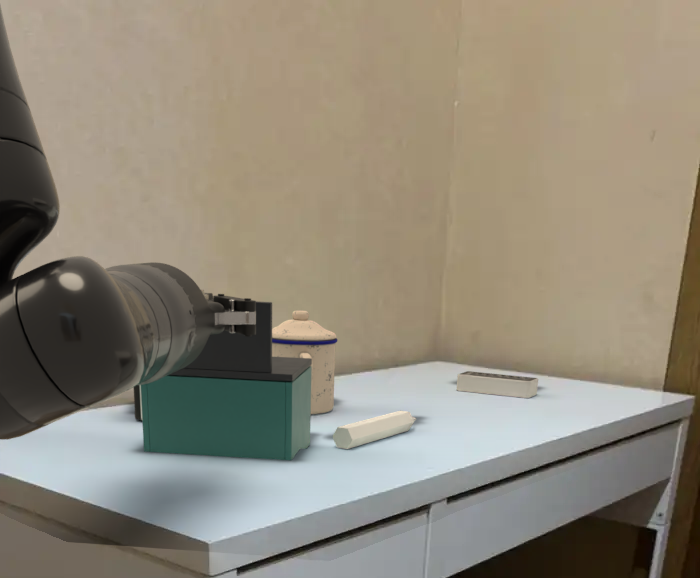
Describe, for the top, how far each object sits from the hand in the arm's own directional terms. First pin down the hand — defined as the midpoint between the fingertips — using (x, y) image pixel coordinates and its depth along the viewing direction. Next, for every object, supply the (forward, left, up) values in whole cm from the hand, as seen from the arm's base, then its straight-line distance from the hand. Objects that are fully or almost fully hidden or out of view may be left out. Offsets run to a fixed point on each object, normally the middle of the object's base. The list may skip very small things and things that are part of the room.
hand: (204, 306), depth 79 cm
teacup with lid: (+3, +34, -15) cm, 37 cm away
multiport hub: (+28, +58, -15) cm, 66 cm away
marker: (+14, +21, -15) cm, 29 cm away
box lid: (0, +9, -6) cm, 11 cm away
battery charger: (-13, +25, -15) cm, 32 cm away
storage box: (0, +9, -14) cm, 17 cm away
